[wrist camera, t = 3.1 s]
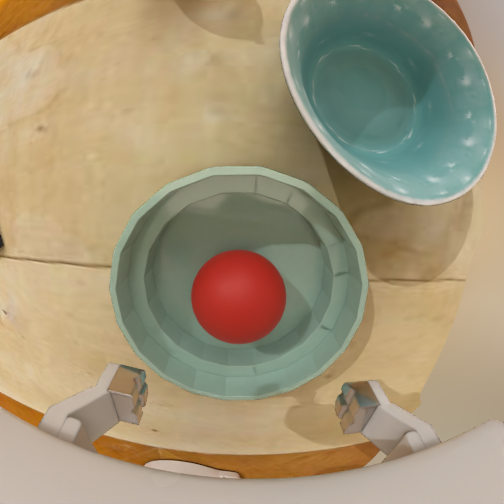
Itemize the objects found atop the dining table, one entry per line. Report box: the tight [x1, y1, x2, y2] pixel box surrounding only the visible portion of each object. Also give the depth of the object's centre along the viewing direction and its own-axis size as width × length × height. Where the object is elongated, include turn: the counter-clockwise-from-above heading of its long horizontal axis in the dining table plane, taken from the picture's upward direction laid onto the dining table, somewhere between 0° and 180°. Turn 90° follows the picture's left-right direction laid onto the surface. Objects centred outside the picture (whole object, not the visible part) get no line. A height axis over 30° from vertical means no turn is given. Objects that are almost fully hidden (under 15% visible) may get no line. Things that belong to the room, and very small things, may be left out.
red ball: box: [191, 250, 286, 344], centre depth 18 cm, size 6×6×6 cm
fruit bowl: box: [109, 166, 369, 400], centre depth 19 cm, size 17×17×6 cm
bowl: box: [279, 0, 496, 206], centre depth 14 cm, size 16×16×8 cm
